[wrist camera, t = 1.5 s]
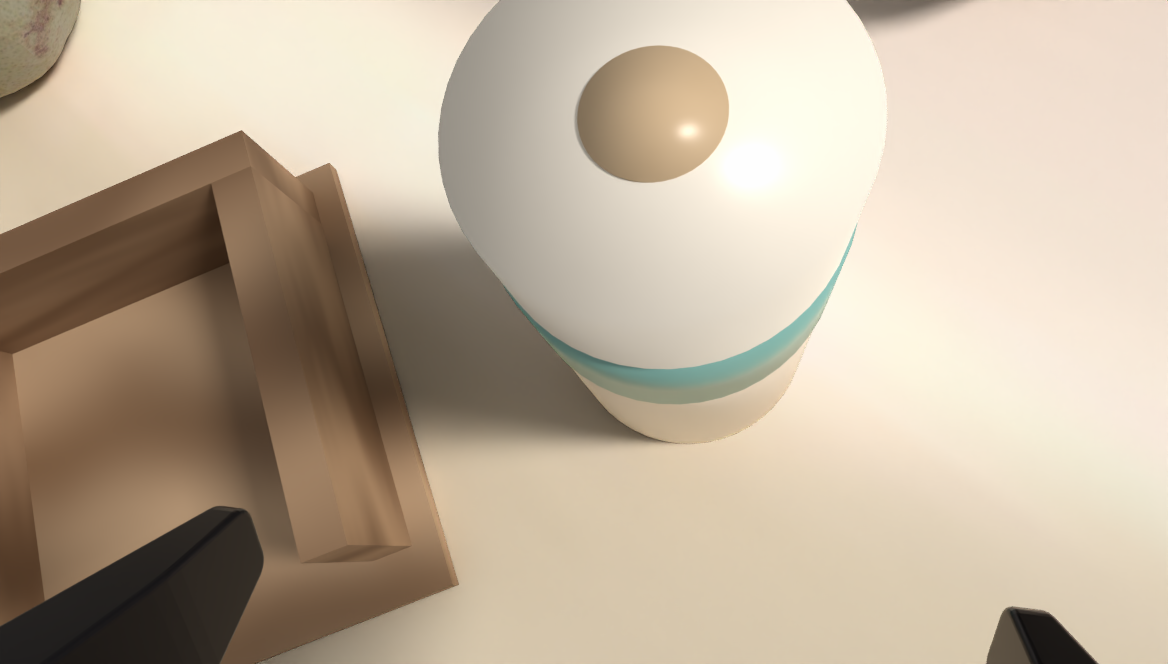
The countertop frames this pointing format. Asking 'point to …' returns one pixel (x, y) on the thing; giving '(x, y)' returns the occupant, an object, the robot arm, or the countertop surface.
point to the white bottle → (667, 189)
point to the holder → (210, 395)
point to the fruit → (32, 39)
